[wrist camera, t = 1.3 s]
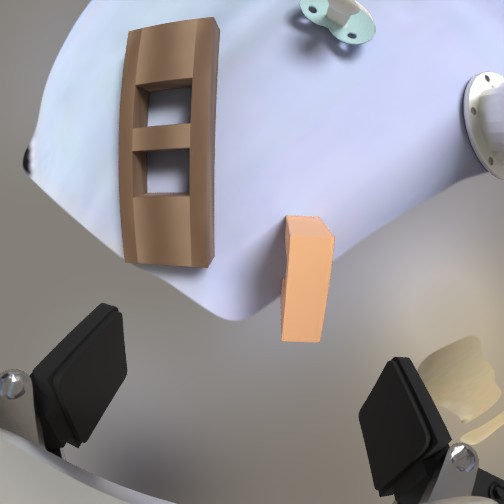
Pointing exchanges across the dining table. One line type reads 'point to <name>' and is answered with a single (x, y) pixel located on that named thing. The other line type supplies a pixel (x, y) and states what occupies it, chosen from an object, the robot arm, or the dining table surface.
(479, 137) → the robot arm
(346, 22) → the pacifier
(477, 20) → the dining table surface
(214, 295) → the dining table surface
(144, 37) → the rail
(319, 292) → the clip
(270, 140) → the dining table surface
